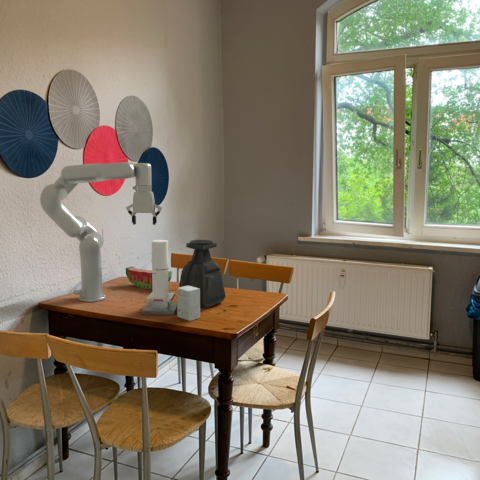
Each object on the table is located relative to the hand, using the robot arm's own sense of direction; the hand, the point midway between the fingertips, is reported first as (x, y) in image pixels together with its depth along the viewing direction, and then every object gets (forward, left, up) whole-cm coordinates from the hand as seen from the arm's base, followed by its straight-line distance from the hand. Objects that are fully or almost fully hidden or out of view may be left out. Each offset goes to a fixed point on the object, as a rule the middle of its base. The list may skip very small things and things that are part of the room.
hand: (144, 224), depth 222 cm
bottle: (+29, -9, -36) cm, 47 cm away
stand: (+12, -20, -36) cm, 43 cm away
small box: (+26, -30, -36) cm, 54 cm away
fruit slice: (-3, +18, -37) cm, 41 cm away
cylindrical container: (+12, -20, -30) cm, 38 cm away
